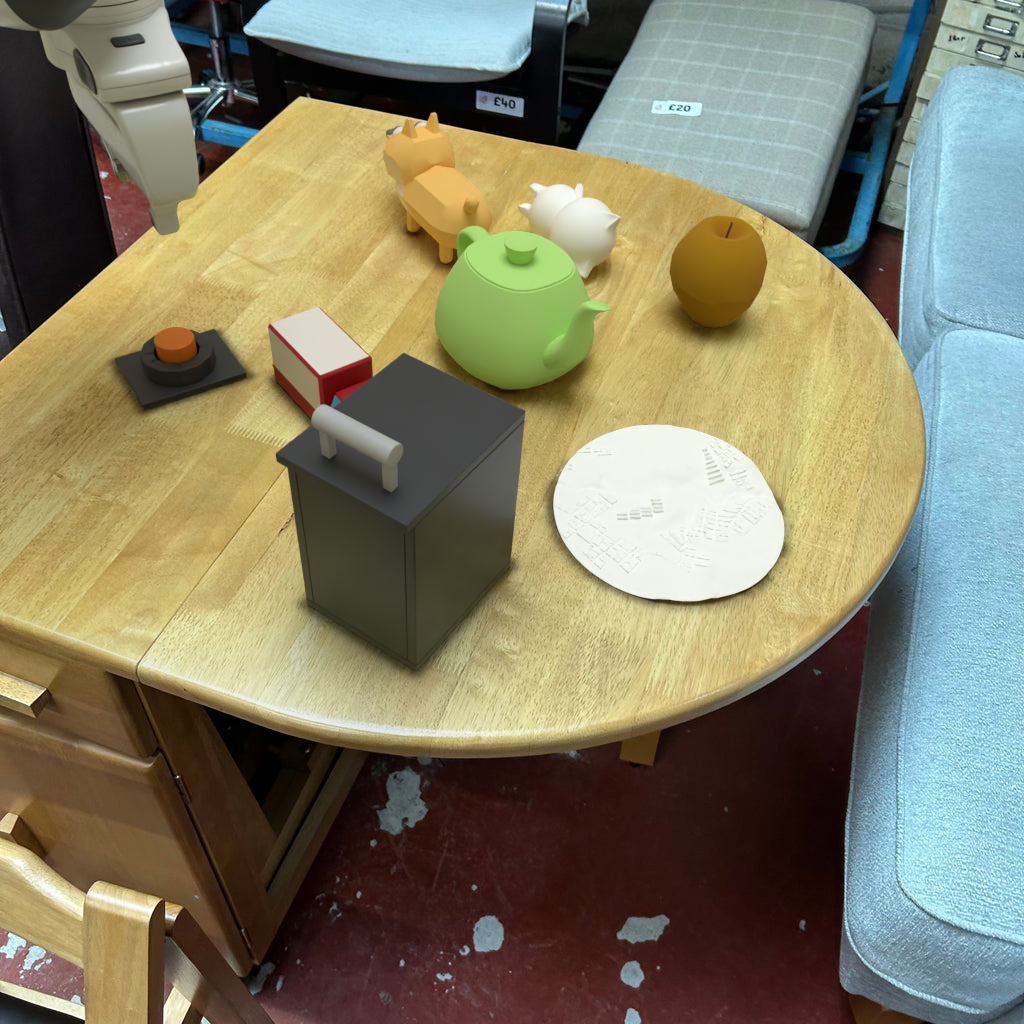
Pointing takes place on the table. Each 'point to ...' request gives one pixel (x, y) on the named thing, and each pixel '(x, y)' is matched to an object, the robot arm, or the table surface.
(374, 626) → the lidded storage box
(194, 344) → the button
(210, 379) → the box
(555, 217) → the cat figurine
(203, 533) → the table surface
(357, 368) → the toy truck
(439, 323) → the teapot
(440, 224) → the dog
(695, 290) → the apple
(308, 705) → the table surface
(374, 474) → the storage box lid
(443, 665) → the table surface
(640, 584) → the plaque
